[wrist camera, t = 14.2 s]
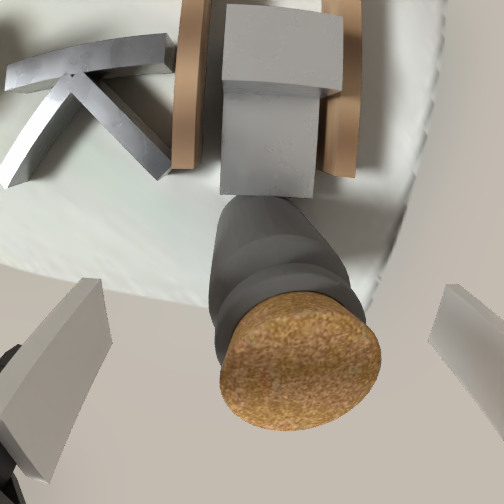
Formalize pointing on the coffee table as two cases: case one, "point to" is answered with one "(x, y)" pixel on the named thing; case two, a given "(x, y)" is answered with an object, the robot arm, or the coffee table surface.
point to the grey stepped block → (275, 97)
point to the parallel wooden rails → (330, 108)
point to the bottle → (286, 319)
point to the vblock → (87, 99)
